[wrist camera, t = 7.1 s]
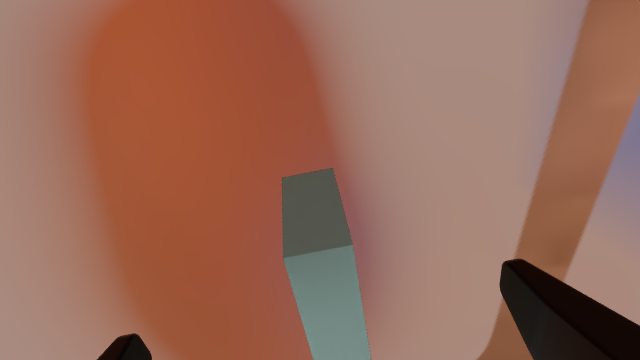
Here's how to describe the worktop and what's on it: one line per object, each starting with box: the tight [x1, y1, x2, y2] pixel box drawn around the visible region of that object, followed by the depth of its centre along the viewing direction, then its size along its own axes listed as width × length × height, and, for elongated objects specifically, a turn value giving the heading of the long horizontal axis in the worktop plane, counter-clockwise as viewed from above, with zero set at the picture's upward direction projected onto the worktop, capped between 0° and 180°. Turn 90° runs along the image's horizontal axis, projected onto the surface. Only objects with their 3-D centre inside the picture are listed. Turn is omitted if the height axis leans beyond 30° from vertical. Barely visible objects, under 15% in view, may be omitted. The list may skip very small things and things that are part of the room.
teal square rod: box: [282, 168, 371, 360], centre depth 16 cm, size 16×2×4 cm, turn 10°
